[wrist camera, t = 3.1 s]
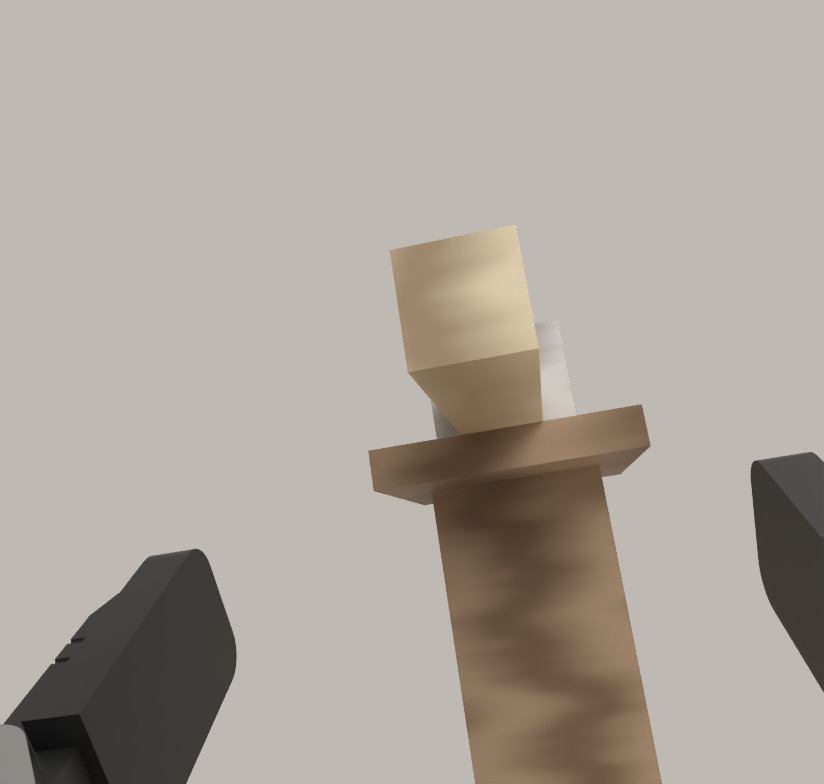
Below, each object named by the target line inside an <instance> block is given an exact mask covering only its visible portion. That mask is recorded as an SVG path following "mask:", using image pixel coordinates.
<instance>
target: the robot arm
mask: <svg viewBox="0 0 824 784" xmlns="http://www.w3.org/2000/svg"><path fill="white" fill-rule="evenodd" d="M751 485H752V496H753V507H754V518H755V528H756V539H757V550H758V560H759V567H760V572H761V577H762V581H763V585H764V588H765V591H766V594H767V597H768V599H769V601H770V604H771V606H772V608H773V609H774V611H775V613H776V614H777V616H778V618H779V619H780V621H781V623H782V624H783V626H784V628H785V629H786V631H787V632H788V634H789V636H790V638H791V639H792V641H793V642H794V644H795V646H796V647H797V649H798V650H799V652H800V654H801V655H802V657H803V659H804V661H805V662H806V664H807V665H808V667H809V669H810V670H811V672H812V674H813V675H814V677H815V679H816V680H817V682H818V684H819V685H820V687H821V689H822V690H823V692H824V462H823V461H822V460H821V459H820V458H819V457H818V456H817V455H815V454H814V453H812V452H808V453H802V454H795V455H789V456H782V457H777V458H770V459H764V460H757V461H754V462H753V463H752V467H751ZM235 668H236V644H235V638H234V635H233V631H232V628H231V626H230V622H229V620H228V617H227V614H226V611H225V608H224V605H223V602H222V599H221V596H220V594H219V591H218V587H217V584H216V581H215V578H214V575H213V572H212V569H211V567H210V564H209V561H208V559H207V557H206V556H205V554H204V553H203V552H202V551H200V550H199V549H192V550H186V551H180V552H174V553H167V554H161V555H155V556H150V557H148V558H147V559H146V560H145V561H144V562H143V563H142V565H141V566H140V567H139V569H138V570H137V571H136V572H135V574H134V575H133V576H132V578H131V579H130V580H129V581H128V583H127V584H126V585H125V587H124V588H123V589H122V591H121V592H120V593H118V594H117V595H116V596H115V597H113V598H112V599H111V600H109V601H108V602H107V603H106V604H104V605H103V606H102V607H100V608H99V609H98V610H97V611H95V612H94V613H93V614H91V615H90V616H89V617H88V619H87V620H86V621H85V622H84V624H83V625H82V626H81V627H80V629H79V630H78V631H77V632H76V634H75V635H74V636H73V637H72V639H71V644H67V645H66V646H65V647H64V649H63V650H62V651H61V652H60V654H59V655H58V656H57V658H56V659H55V664H51V665H50V666H49V668H48V669H47V670H46V671H45V673H44V674H43V675H42V676H41V678H40V679H39V680H38V682H37V683H36V684H35V685H34V686H33V688H32V689H31V690H30V691H29V693H28V694H27V695H26V696H25V698H24V699H23V700H22V701H21V703H20V704H19V705H18V707H17V708H16V709H15V710H14V711H13V713H12V714H11V715H10V717H9V718H8V719H7V720H6V722H5V723H4V724H3V725H0V784H186V783H187V780H188V778H189V776H190V774H191V772H192V769H193V767H194V765H195V763H196V760H197V758H198V756H199V754H200V751H201V749H202V747H203V745H204V742H205V740H206V738H207V735H208V733H209V731H210V729H211V727H212V724H213V722H214V720H215V718H216V715H217V713H218V711H219V709H220V707H221V704H222V702H223V700H224V698H225V695H226V693H227V691H228V689H229V686H230V684H231V682H232V679H233V677H234V673H235Z"/></svg>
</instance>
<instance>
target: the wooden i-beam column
mask: <svg viewBox="0 0 824 784" xmlns="http://www.w3.org/2000/svg"><path fill="white" fill-rule="evenodd" d="M649 447H650V442H649V437H648V432H647V427H646V423H645V418H644V413H643V408H642V405H636V406H630V407H624V408H618V409H612V410H606V411H600V412H594V413H588V414H582V415H577V416H571V417H565V418H559V419H553V420H547V421H541V422H535V423H529V424H524V425H518V426H512V427H506V428H500V429H494V430H488V431H482V432H476V433H471V434H465V435H459V436H453V437H447V438H441V439H436V440H429V441H423V442H417V443H412V444H406V445H400V446H394V447H388V448H382V449H377V450H370V451H369V459H370V466H371V474H372V481H373V488H374V491H376V492H380V493H383V494H387V495H390V496H394V497H398V498H401V499H405V500H408V501H412V502H415V503H419V504H423V505H428V504H434V510H435V517H436V524H437V531H438V537H439V544H440V551H441V558H442V564H443V571H444V578H445V584H446V591H447V597H448V604H449V611H450V618H451V624H452V631H453V638H454V644H455V650H456V658H457V664H458V671H459V678H460V684H461V691H462V698H463V705H464V711H465V718H466V724H467V731H468V738H469V745H470V751H471V758H472V764H473V771H474V778H475V784H662V782H661V777H660V772H659V766H658V762H657V756H656V751H655V746H654V741H653V736H652V731H651V726H650V721H649V716H648V710H647V706H646V700H645V695H644V690H643V685H642V680H641V675H640V670H639V665H638V660H637V655H636V649H635V644H634V639H633V634H632V629H631V624H630V619H629V614H628V609H627V604H626V599H625V593H624V588H623V584H622V578H621V573H620V568H619V563H618V558H617V553H616V548H615V542H614V538H613V532H612V527H611V522H610V517H609V512H608V507H607V502H606V497H605V492H604V486H603V481H602V477H605V476H612V475H617V474H621V473H622V472H623V471H624V470H625V469H626V468H627V467H628V466H630V465H631V463H633V462H634V461H635V460H636V459H637V458H638V457H639V456H640V455H641V454H642V453H643V452H645V451H646V450H647V449H648V448H649Z"/></svg>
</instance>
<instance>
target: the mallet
mask: <svg viewBox="0 0 824 784" xmlns="http://www.w3.org/2000/svg"><path fill="white" fill-rule="evenodd" d="M390 254H391V261H392V267H393V275H394V281H395V288H396V295H397V301H398V308H399V315H400V322H401V329H402V335H403V342H404V349H405V355H406V362H407V369H408V373H409V374H410V375H411V376H412V378H413V379H414V380H415V381H416V382H417V383H418V385H419V386H420V387H421V388H422V390H423V391H424V392H425V393H426V394H427V395H428V397H429V398H430V399H431V403H432V410H433V417H434V422H435V430H436V436H437V439H441V438H447V437H453V436H459V435H465V434H471V433H476V432H482V431H488V430H494V429H500V428H506V427H512V426H518V425H524V424H529V423H535V422H541V421H547V420H553V419H559V418H565V417H571V416H576V412H575V406H574V401H573V396H572V391H571V386H570V380H569V375H568V370H567V365H566V360H565V354H564V349H563V344H562V339H561V334H560V328H559V323H558V320H555V321H550V322H544V323H538V324H534V319H533V314H532V309H531V304H530V299H529V293H528V287H527V282H526V277H525V271H524V265H523V261H522V255H521V249H520V244H519V239H518V233H517V228H516V225H511V226H506V227H501V228H497V229H492V230H486V231H482V232H477V233H472V234H467V235H463V236H458V237H453V238H448V239H443V240H439V241H433V242H428V243H423V244H419V245H414V246H409V247H404V248H399V249H394V250H390Z"/></svg>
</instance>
